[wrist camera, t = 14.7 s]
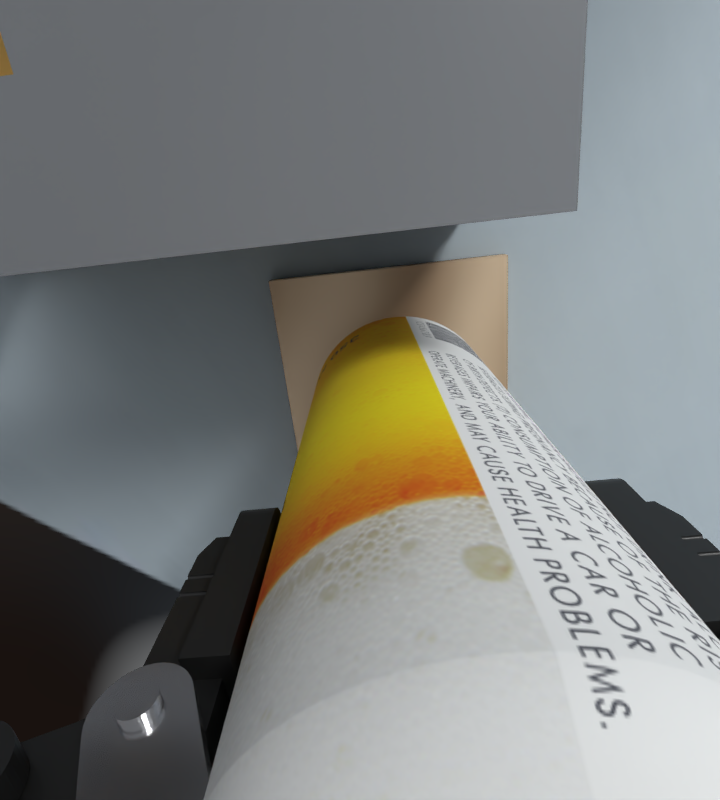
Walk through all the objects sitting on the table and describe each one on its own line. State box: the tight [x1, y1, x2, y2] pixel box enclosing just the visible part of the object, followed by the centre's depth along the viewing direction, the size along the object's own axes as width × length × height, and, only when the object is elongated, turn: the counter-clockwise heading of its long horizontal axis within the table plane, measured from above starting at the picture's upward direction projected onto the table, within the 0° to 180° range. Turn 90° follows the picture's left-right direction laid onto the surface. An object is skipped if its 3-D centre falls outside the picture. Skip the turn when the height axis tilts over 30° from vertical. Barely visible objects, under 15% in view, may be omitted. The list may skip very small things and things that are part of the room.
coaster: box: [269, 254, 508, 451], centre depth 20 cm, size 9×9×1 cm
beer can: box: [204, 316, 720, 800], centre depth 11 cm, size 6×6×15 cm
